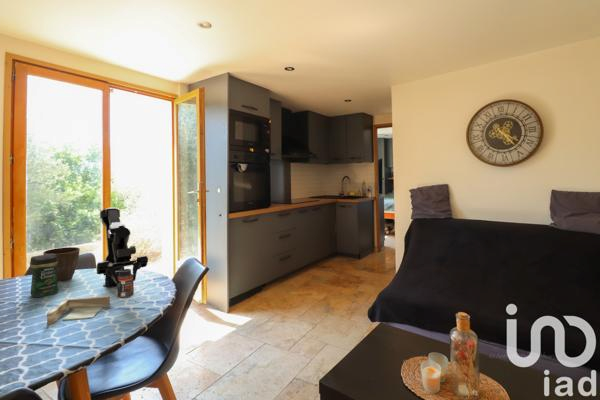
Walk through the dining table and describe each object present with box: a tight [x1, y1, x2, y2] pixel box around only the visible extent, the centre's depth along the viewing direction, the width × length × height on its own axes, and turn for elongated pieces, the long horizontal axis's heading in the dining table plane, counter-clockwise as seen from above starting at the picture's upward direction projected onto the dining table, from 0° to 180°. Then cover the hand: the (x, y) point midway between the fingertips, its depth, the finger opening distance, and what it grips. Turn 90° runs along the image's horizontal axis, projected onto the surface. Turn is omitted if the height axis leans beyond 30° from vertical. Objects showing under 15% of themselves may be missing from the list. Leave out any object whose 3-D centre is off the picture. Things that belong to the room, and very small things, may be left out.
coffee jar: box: [29, 254, 59, 298], centre depth 134 cm, size 10×8×19 cm
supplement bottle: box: [116, 268, 135, 299], centre depth 122 cm, size 6×6×11 cm
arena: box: [46, 295, 111, 325], centre depth 116 cm, size 14×16×4 cm
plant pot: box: [42, 246, 81, 283], centre depth 153 cm, size 15×15×16 cm
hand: (126, 281), depth 121 cm, fingers closed on supplement bottle, 6 cm apart
